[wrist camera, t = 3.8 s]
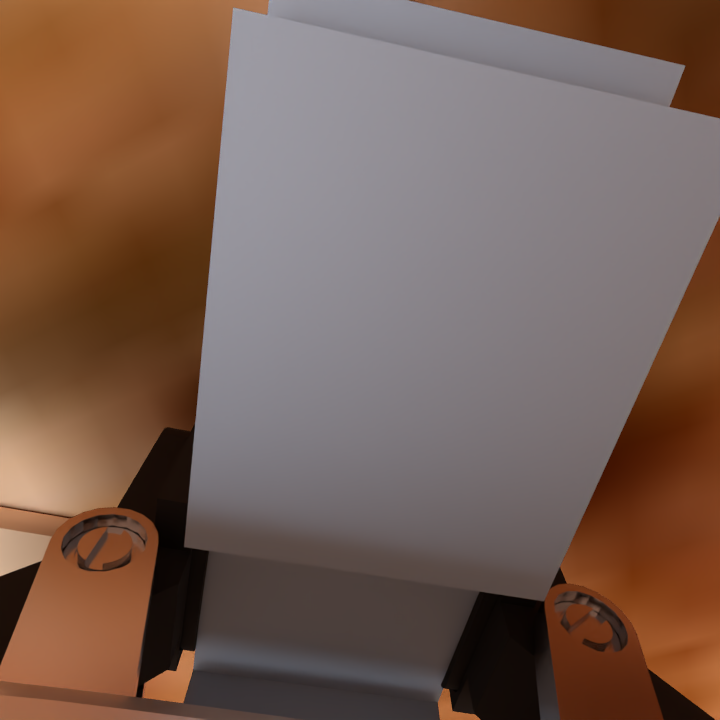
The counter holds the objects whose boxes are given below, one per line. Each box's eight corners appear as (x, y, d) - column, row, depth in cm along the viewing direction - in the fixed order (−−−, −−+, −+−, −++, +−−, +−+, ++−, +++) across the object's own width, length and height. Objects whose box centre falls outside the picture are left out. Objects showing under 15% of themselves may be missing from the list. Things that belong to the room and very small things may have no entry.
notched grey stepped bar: (309, 22, 9) (241, -79, 4) (555, 78, 9) (793, 54, 4) (214, 700, 15) (143, 990, 10) (358, 719, 16) (357, 1008, 11)
